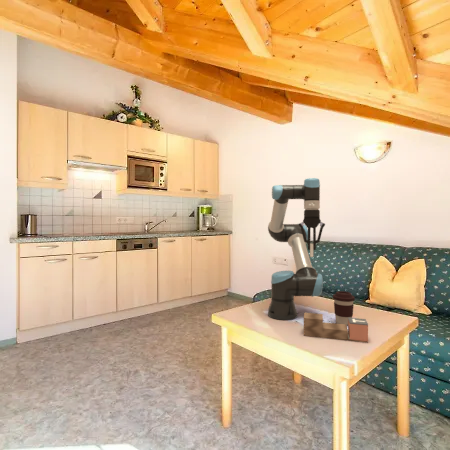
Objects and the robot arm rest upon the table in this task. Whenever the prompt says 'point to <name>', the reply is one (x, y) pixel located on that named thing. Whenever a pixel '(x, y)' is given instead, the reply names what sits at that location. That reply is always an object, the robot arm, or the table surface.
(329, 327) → the stair
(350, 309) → the coffee cup
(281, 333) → the table surface
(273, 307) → the robot arm
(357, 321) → the block
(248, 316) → the table surface
